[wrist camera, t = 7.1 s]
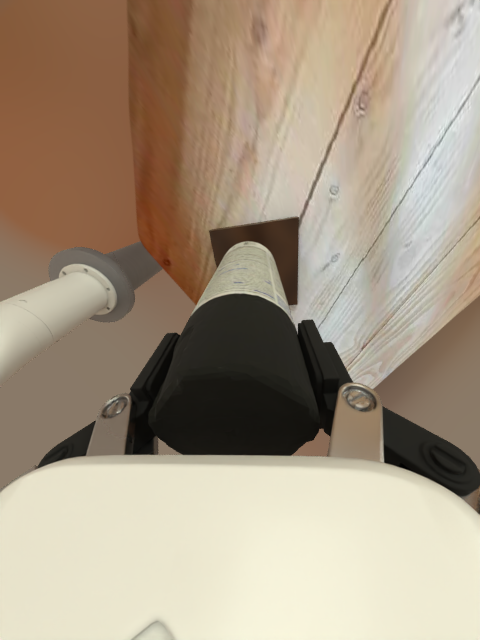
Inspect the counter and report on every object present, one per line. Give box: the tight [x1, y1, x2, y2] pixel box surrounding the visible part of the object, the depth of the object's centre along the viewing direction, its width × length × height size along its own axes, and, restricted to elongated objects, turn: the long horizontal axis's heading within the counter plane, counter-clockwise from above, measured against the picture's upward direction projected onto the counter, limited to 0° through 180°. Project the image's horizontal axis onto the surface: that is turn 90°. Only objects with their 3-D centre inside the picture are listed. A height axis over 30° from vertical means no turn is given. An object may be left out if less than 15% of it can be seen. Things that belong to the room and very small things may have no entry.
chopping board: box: [209, 217, 299, 305], centre depth 37 cm, size 15×16×2 cm
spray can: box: [148, 241, 320, 456], centre depth 15 cm, size 7×7×20 cm
